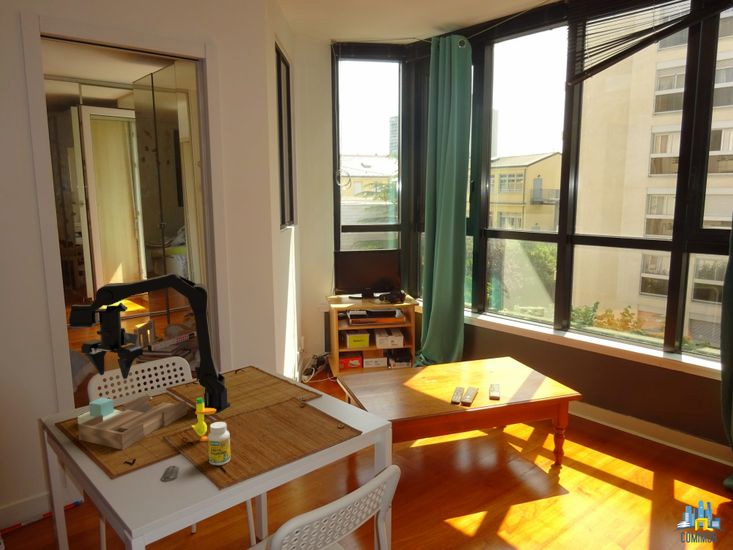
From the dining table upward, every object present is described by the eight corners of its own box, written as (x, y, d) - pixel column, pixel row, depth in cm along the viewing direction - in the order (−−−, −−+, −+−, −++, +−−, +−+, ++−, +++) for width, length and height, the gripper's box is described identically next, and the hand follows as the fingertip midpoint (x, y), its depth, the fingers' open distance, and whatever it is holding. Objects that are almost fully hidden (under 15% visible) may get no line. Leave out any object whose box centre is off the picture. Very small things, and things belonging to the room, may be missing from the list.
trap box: (186, 414, 160) (186, 400, 160) (122, 449, 137) (121, 434, 137) (147, 406, 166) (146, 393, 165) (79, 439, 143) (78, 424, 142)
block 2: (179, 472, 129) (180, 465, 129) (175, 483, 123) (176, 476, 123) (164, 472, 128) (164, 465, 128) (159, 483, 122) (160, 476, 122)
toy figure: (217, 436, 146) (216, 395, 144) (216, 442, 142) (214, 400, 140) (192, 437, 145) (191, 396, 143) (190, 443, 141) (188, 401, 139)
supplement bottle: (230, 454, 135) (229, 419, 134) (230, 464, 130) (229, 428, 129) (209, 456, 134) (208, 421, 133) (207, 467, 129) (206, 430, 127)
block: (113, 412, 156) (113, 399, 155) (101, 418, 152) (100, 405, 151) (102, 410, 157) (101, 397, 157) (90, 415, 153) (89, 402, 153)
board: (125, 418, 157) (125, 411, 156) (103, 429, 149) (103, 422, 149) (100, 413, 160) (100, 406, 160) (78, 423, 153) (77, 416, 153)
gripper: (155, 323, 159) (157, 372, 161) (108, 318, 165) (111, 365, 167) (126, 331, 148) (129, 384, 150) (78, 325, 155) (81, 376, 157)
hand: (113, 376), depth 157 cm, fingers open, 9 cm apart
